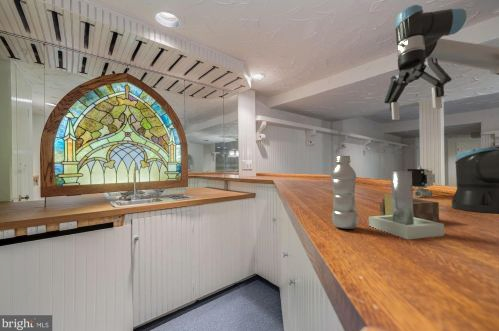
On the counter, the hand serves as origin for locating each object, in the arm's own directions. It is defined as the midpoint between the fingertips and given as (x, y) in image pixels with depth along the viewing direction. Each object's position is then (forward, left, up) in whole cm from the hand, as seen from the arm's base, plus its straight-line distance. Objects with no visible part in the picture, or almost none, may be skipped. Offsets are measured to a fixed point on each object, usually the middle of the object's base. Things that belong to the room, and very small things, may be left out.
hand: (414, 114), depth 69 cm
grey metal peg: (+21, +12, -35) cm, 42 cm away
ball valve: (-47, -34, -35) cm, 68 cm away
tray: (+21, +12, -35) cm, 42 cm away
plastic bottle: (+34, +6, -35) cm, 49 cm away
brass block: (+14, +3, -35) cm, 38 cm away
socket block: (+9, +3, -35) cm, 36 cm away
